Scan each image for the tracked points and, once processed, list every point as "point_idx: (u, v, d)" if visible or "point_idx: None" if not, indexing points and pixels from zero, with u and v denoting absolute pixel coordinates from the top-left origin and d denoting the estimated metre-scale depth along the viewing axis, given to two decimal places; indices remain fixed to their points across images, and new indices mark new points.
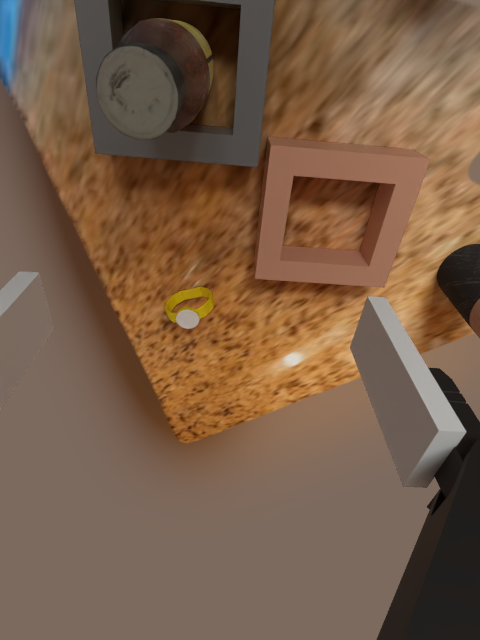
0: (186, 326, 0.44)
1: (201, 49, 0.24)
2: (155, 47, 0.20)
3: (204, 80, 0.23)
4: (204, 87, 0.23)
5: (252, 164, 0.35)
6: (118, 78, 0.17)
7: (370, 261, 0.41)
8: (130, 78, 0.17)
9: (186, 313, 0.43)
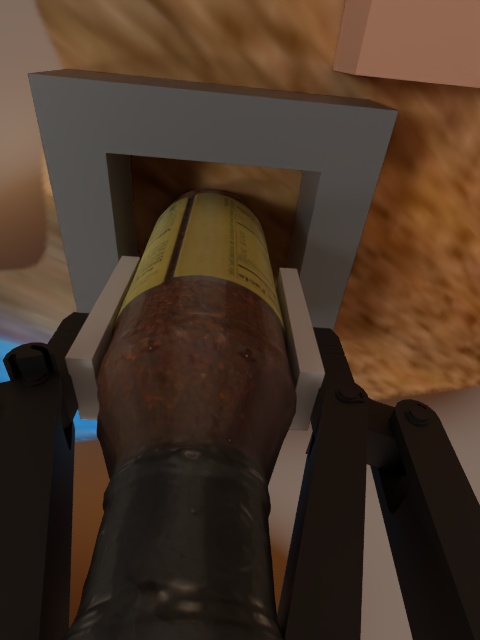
0: None
1: (146, 293, 0.11)
2: None
3: (186, 337, 0.09)
4: (202, 338, 0.09)
5: (389, 124, 0.15)
6: None
7: None
8: None
9: None
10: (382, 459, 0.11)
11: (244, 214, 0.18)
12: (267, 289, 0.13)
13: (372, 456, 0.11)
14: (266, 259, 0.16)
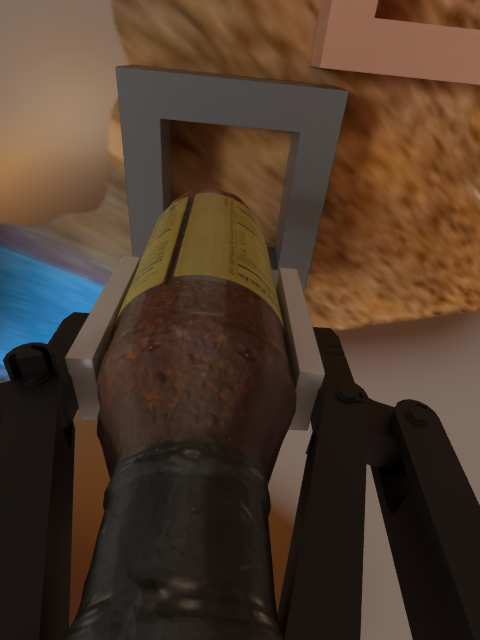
0: None
1: (146, 293, 0.11)
2: None
3: (187, 337, 0.09)
4: (202, 337, 0.09)
5: (343, 100, 0.23)
6: None
7: None
8: None
9: None
10: (382, 459, 0.11)
11: (244, 214, 0.18)
12: (267, 289, 0.13)
13: (371, 456, 0.11)
14: (266, 259, 0.16)
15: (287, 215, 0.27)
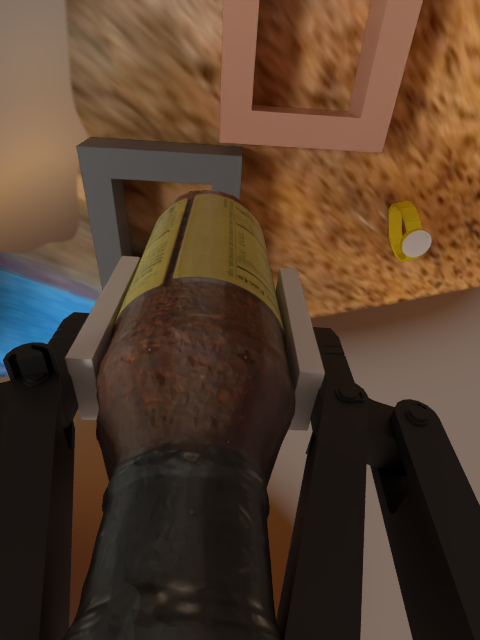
0: (426, 246, 0.35)
1: (145, 295, 0.11)
2: None
3: (185, 339, 0.09)
4: (201, 339, 0.09)
5: (239, 162, 0.32)
6: None
7: None
8: None
9: (407, 245, 0.35)
10: (382, 459, 0.11)
11: (243, 215, 0.18)
12: (266, 290, 0.13)
13: (371, 456, 0.11)
14: (265, 260, 0.16)
15: None
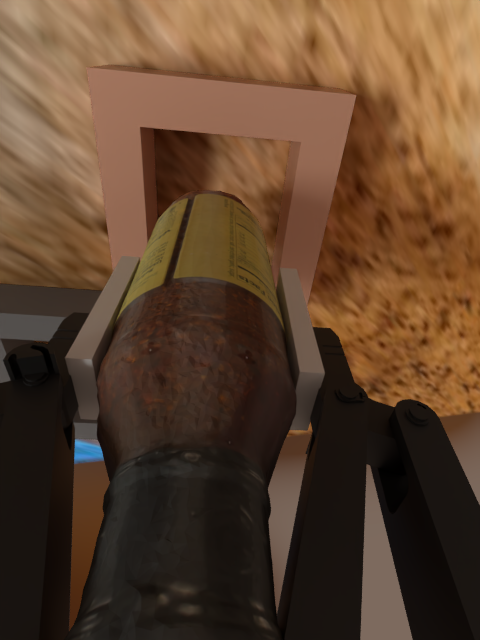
0: None
1: (146, 295, 0.11)
2: None
3: (186, 339, 0.09)
4: (202, 339, 0.09)
5: None
6: None
7: (291, 140, 0.21)
8: None
9: None
10: (382, 459, 0.11)
11: (244, 215, 0.18)
12: (267, 290, 0.13)
13: (371, 456, 0.11)
14: (266, 260, 0.16)
15: None
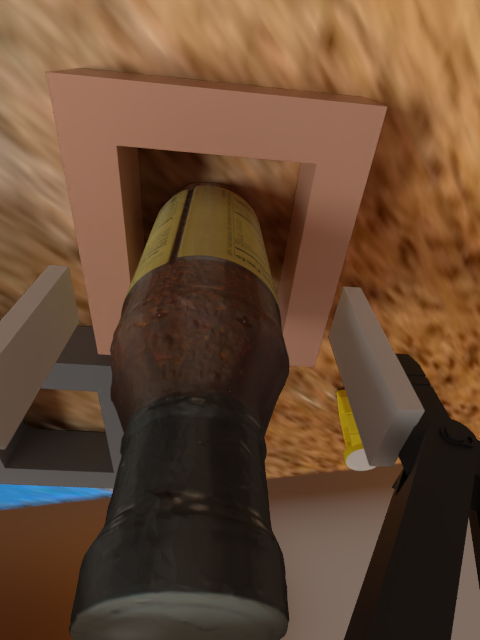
0: None
1: (153, 272, 0.13)
2: (122, 445, 0.09)
3: (191, 306, 0.10)
4: (204, 306, 0.10)
5: None
6: None
7: (304, 162, 0.17)
8: None
9: (352, 460, 0.28)
10: None
11: (240, 204, 0.19)
12: (262, 269, 0.14)
13: (478, 502, 0.10)
14: (261, 245, 0.17)
15: (108, 439, 0.29)
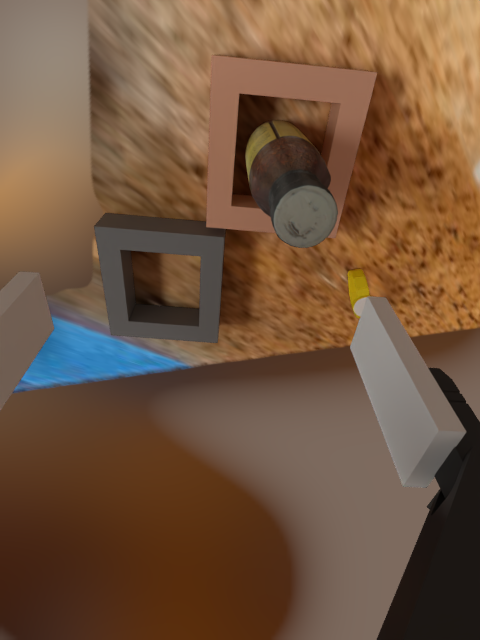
0: None
1: (269, 143, 0.28)
2: (271, 191, 0.25)
3: (293, 146, 0.26)
4: (299, 146, 0.26)
5: (222, 241, 0.40)
6: (292, 230, 0.23)
7: (334, 102, 0.33)
8: (294, 221, 0.23)
9: (357, 307, 0.43)
10: None
11: (298, 129, 0.35)
12: None
13: None
14: None
15: (200, 297, 0.45)
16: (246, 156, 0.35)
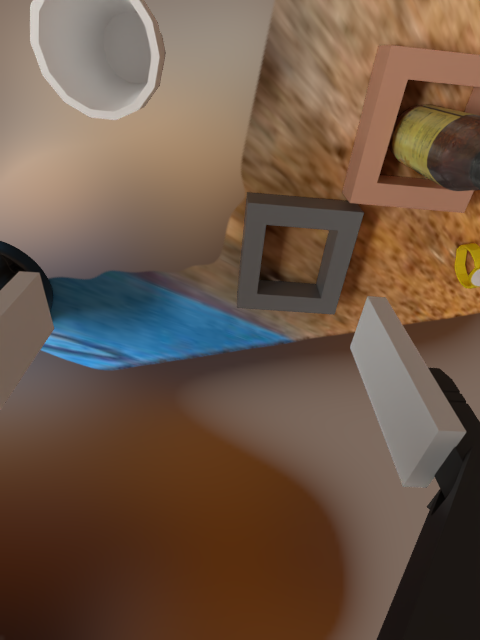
0: None
1: (455, 120, 0.33)
2: (478, 159, 0.30)
3: None
4: None
5: (361, 216, 0.45)
6: None
7: None
8: None
9: (475, 277, 0.48)
10: None
11: None
12: None
13: None
14: None
15: (328, 269, 0.49)
16: (403, 136, 0.39)
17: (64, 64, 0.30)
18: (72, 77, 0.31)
